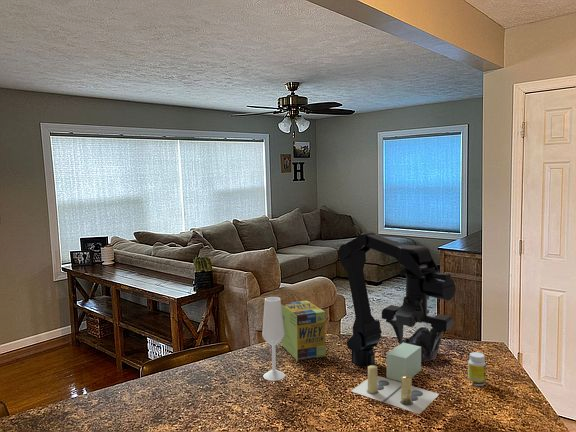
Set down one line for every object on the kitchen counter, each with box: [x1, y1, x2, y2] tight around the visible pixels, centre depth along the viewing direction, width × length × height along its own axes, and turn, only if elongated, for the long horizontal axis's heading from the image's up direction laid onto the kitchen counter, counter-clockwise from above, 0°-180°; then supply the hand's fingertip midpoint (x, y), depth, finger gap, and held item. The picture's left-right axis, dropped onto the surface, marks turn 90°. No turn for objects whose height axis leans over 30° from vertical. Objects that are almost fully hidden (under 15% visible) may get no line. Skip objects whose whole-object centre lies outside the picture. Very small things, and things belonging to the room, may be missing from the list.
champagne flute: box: [261, 296, 286, 382], centre depth 140 cm, size 7×7×24 cm
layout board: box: [350, 365, 440, 415], centre depth 126 cm, size 20×13×8 cm, turn 51°
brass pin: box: [400, 375, 413, 405], centre depth 121 cm, size 3×3×7 cm
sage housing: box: [385, 343, 422, 383], centre depth 138 cm, size 6×11×8 cm, turn 141°
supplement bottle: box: [467, 351, 487, 387], centre depth 134 cm, size 5×5×8 cm
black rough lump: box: [398, 326, 442, 363], centre depth 154 cm, size 13×14×10 cm
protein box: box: [281, 300, 326, 362], centre depth 160 cm, size 10×15×16 cm
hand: (416, 347), depth 129 cm, fingers open, 9 cm apart
